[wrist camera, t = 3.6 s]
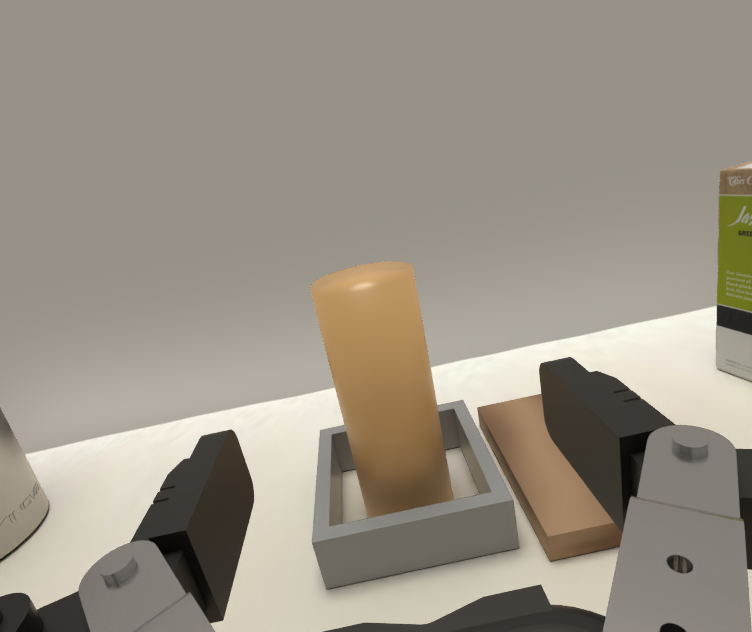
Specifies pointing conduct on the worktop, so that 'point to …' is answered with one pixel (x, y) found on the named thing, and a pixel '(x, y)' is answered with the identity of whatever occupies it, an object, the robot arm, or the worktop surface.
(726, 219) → the tea box
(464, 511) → the bin
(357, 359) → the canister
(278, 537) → the worktop surface
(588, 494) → the pad
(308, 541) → the worktop surface
